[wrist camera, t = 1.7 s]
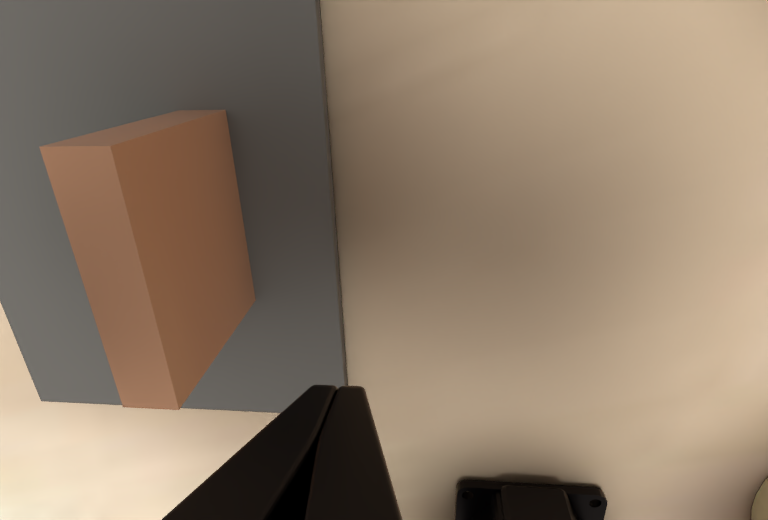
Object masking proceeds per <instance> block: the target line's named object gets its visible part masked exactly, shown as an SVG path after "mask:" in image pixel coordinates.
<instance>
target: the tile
mask: <svg viewBox="0 0 768 520" xmlns="http://www.w3.org/2000/svg"><path fill="white" fill-rule="evenodd" d="M39 148H40V151H41V154H42V157H43V160H44V163H45V166H46V170H47V173H48V176H49V179H50V182H51V185H52V188H53V191H54V194H55V197H56V201H57V204H58V207H59V210H60V213H61V216H62V219H63V222H64V225H65V229H66V232H67V235H68V238H69V241H70V244H71V247H72V250H73V253H74V256H75V260H76V263H77V266H78V269H79V272H80V275H81V278H82V281H83V284H84V288H85V291H86V294H87V297H88V300H89V303H90V306H91V309H92V312H93V315H94V319H95V322H96V325H97V328H98V331H99V334H100V337H101V340H102V343H103V347H104V350H105V353H106V356H107V359H108V362H109V365H110V368H111V371H112V374H113V378H114V381H115V384H116V387H117V390H118V393H119V396H120V399H121V402H122V406H123V407H132V408H152V409H173V410H179V409H180V408H181V406H182V405H183V404H184V402H185V401H186V399H187V398H188V396H189V395H190V394H191V392H192V391H193V389H194V388H195V386H196V385H197V384H198V382H199V381H200V379H201V378H202V376H203V375H204V374H205V372H206V371H207V369H208V368H209V366H210V365H211V364H212V362H213V361H214V359H215V358H216V356H217V355H218V353H219V352H220V351H221V349H222V348H223V346H224V345H225V343H226V342H227V341H228V339H229V338H230V336H231V335H232V333H233V332H234V331H235V329H236V328H237V326H238V325H239V323H240V322H241V321H242V319H243V318H244V316H245V315H246V313H247V312H248V311H249V309H250V308H251V306H252V305H253V303H254V302H255V301H256V300H255V293H254V287H253V280H252V274H251V268H250V261H249V255H248V249H247V242H246V236H245V230H244V223H243V217H242V210H241V204H240V198H239V191H238V185H237V179H236V172H235V166H234V160H233V153H232V147H231V141H230V134H229V128H228V121H227V115H226V110H178V111H174V112H170V113H166V114H163V115H159V116H155V117H151V118H147V119H143V120H140V121H136V122H132V123H128V124H124V125H120V126H117V127H113V128H109V129H105V130H101V131H97V132H94V133H90V134H86V135H82V136H78V137H74V138H71V139H67V140H63V141H59V142H55V143H51V144H48V145H44V146H40V147H39Z"/></svg>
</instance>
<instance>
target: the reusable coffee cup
mask: <svg viewBox="0 0 768 520" xmlns="http://www.w3.org/2000/svg"><path fill="white" fill-rule="evenodd" d="M751 520H768V478H767V479H766V480H765V481H764V483H763V484H762V486H761V487H760V489H759V490H758V492H757V494H756V496H755V499H754V502H753V505H752V509H751Z"/></svg>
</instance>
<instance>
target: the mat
mask: <svg viewBox="0 0 768 520" xmlns="http://www.w3.org/2000/svg"><path fill="white" fill-rule="evenodd" d="M178 110H226V115H227V121H228V128H229V134H230V141H231V147H232V153H233V160H234V166H235V172H236V179H237V185H238V191H239V198H240V204H241V210H242V217H243V223H244V230H245V236H246V242H247V249H248V255H249V261H250V268H251V274H252V280H253V287H254V293H255V300H256V301H255V302H254V303H253V305H252V306H251V308H250V309H249V311H248V312H247V313H246V315H245V316H244V318H243V319H242V321H241V322H240V323H239V325H238V326H237V328H236V329H235V331H234V332H233V333H232V335H231V336H230V338H229V339H228V341H227V342H226V343H225V345H224V346H223V348H222V349H221V351H220V352H219V353H218V355H217V356H216V358H215V359H214V361H213V362H212V364H211V365H210V366H209V368H208V369H207V371H206V372H205V374H204V375H203V376H202V378H201V379H200V381H199V382H198V384H197V385H196V386H195V388H194V389H193V391H192V392H191V394H190V395H189V396H188V398H187V399H186V401H185V402H184V404H183V405H182V406H181V408H192V409H212V410H232V411H253V412H273V413H282V412H283V411H284V410H285V409H286V408H287V407H288V406H289V405H291V404H292V403H293V402H294V401H295V400H296V399H297V398H298V397H299V396H301V395H302V394H303V393H304V392H305V391H306V390H307V389H308V388H310V387H311V386H313V385H335V386H336V387H337V388H339V387H341V386H348V384H347V370H346V357H345V343H344V329H343V315H342V301H341V288H340V274H339V260H338V246H337V233H336V219H335V205H334V191H333V178H332V164H331V150H330V136H329V122H328V109H327V95H326V81H325V67H324V54H323V40H322V26H321V12H320V0H0V302H1V304H2V307H3V309H4V311H5V314H6V316H7V319H8V321H9V324H10V326H11V329H12V331H13V333H14V336H15V338H16V341H17V343H18V346H19V348H20V351H21V353H22V355H23V358H24V360H25V363H26V365H27V368H28V370H29V373H30V375H31V377H32V380H33V382H34V385H35V387H36V390H37V392H38V394H39V397H40V399H41V401H49V402H69V403H90V404H110V405H122V402H121V399H120V396H119V393H118V390H117V387H116V384H115V381H114V378H113V374H112V371H111V368H110V365H109V362H108V359H107V356H106V353H105V350H104V347H103V343H102V340H101V337H100V334H99V331H98V328H97V325H96V322H95V319H94V315H93V312H92V309H91V306H90V303H89V300H88V297H87V294H86V291H85V288H84V284H83V281H82V278H81V275H80V272H79V269H78V266H77V263H76V260H75V256H74V253H73V250H72V247H71V244H70V241H69V238H68V235H67V232H66V229H65V225H64V222H63V219H62V216H61V213H60V210H59V207H58V204H57V201H56V197H55V194H54V191H53V188H52V185H51V182H50V179H49V176H48V173H47V170H46V166H45V163H44V160H43V157H42V154H41V151H40V148H39V147H40V146H44V145H48V144H51V143H55V142H59V141H63V140H67V139H71V138H74V137H78V136H82V135H86V134H90V133H94V132H97V131H101V130H105V129H109V128H113V127H117V126H120V125H124V124H128V123H132V122H136V121H140V120H143V119H147V118H151V117H155V116H159V115H163V114H166V113H170V112H174V111H178Z"/></svg>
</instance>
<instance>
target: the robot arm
mask: <svg viewBox="0 0 768 520" xmlns="http://www.w3.org/2000/svg"><path fill="white" fill-rule="evenodd" d="M466 491H469V492H466ZM606 507H607V500H606V497H605V494H604V492H603V491H602V490H600V489H599V488H593V487H577V486H560V485H544V484H528V483H511V482H495V481H478V480H463V481H460V482H459V483H458V484H457V486H456V502H455V520H604V516H605V511H606ZM162 520H402V517H401V514H400V510H399V507H398V503H397V500H396V496H395V493H394V489H393V486H392V482H391V479H390V475H389V472H388V469H387V465H386V462H385V458H384V455H383V451H382V448H381V444H380V441H379V437H378V434H377V430H376V427H375V423H374V420H373V416H372V413H371V410H370V406H369V403H368V399H367V396H366V392H365V389H364V388H363V387H361V386H341V387H339V388H337V387H336V386H335V385H313V386H311V387H310V388H308V389H307V390H306V391H305V392H304V393H303V394H302V395H301V396H299V397H298V398H297V399H296V400H295V401H294V402H293V403H292V404H291V405H289V406H288V407H287V408H286V409H285V410H284V411H283V412H282V413H280V414H279V415H278V416H277V417H276V418H275V419H274V420H273V421H271V422H270V423H269V424H268V425H267V426H266V427H265V428H264V429H262V430H261V431H260V432H259V433H258V434H257V435H256V436H255V437H254V438H252V439H251V440H250V441H249V442H248V443H247V444H246V445H245V446H243V447H242V448H241V449H240V450H239V451H238V452H237V453H236V454H234V455H233V456H232V457H231V458H230V459H229V460H228V461H227V462H226V463H224V464H223V465H222V466H221V467H220V468H219V469H218V470H217V471H215V472H214V473H213V474H212V475H211V476H210V477H209V478H208V479H206V480H205V481H204V482H203V483H202V484H201V485H200V486H199V487H198V488H196V489H195V490H194V491H193V492H192V493H191V494H190V495H189V496H187V497H186V498H185V499H184V500H183V501H182V502H181V503H180V504H178V505H177V506H176V507H175V508H174V509H173V510H172V511H171V512H170V513H168V514H167V515H166V516H165V517H164V518H163V519H162Z"/></svg>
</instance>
